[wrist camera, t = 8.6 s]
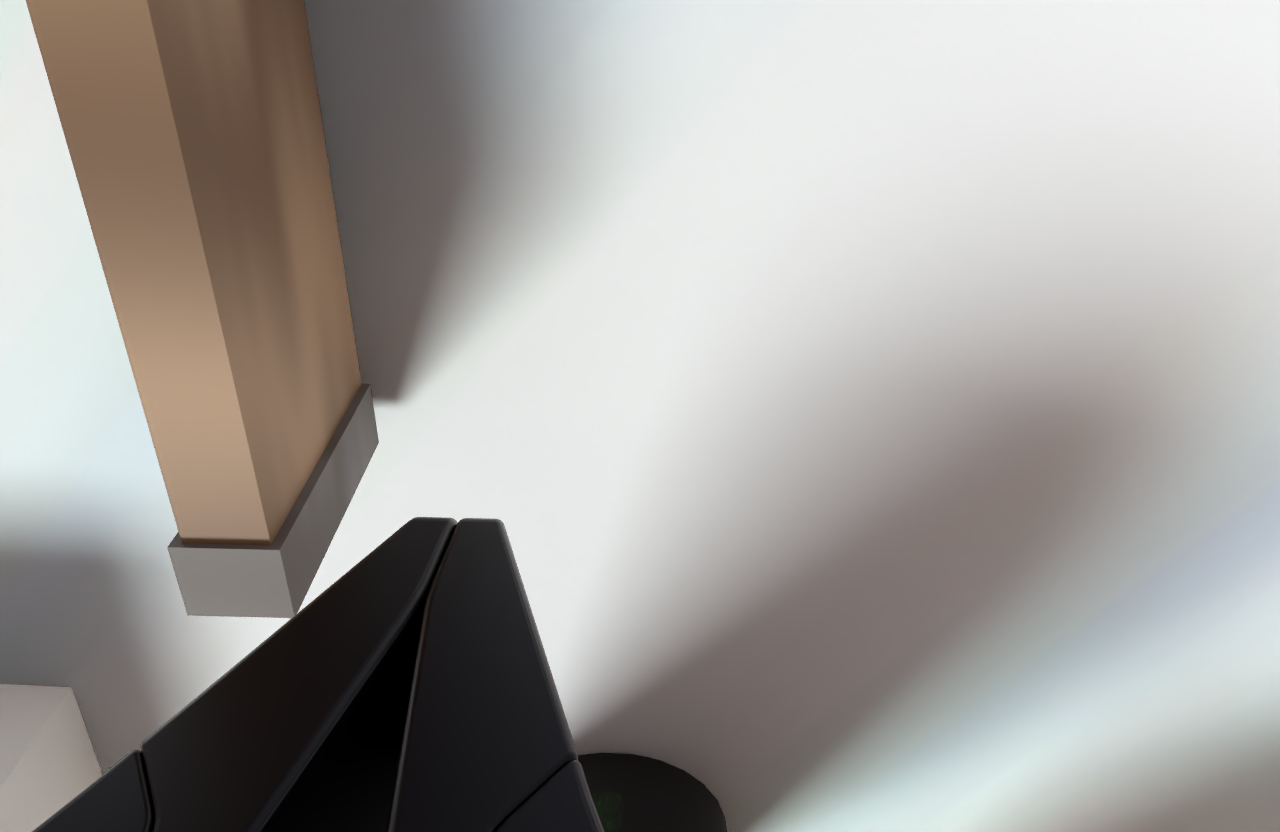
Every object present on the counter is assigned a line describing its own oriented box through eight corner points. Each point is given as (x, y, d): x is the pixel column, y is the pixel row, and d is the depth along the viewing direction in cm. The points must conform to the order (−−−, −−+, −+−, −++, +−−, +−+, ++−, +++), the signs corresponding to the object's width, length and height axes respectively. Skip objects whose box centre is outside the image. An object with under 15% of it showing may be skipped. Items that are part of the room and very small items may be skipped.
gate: (99, -557, 11) (-236, -804, 7) (233, -556, 11) (-22, -799, 7) (296, 440, 17) (187, 615, 13) (378, 443, 17) (295, 618, 13)
